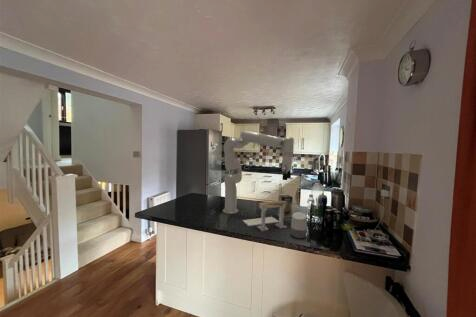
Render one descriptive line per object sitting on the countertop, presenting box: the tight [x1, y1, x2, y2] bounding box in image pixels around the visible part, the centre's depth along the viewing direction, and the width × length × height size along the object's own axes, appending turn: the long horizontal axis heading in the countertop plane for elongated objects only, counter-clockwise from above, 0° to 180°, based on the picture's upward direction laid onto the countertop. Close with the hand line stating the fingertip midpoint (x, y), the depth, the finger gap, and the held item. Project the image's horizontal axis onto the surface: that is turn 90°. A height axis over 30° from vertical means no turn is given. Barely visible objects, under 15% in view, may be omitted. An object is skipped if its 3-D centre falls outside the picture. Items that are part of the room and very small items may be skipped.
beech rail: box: [257, 200, 287, 210], centre depth 137 cm, size 3×20×3 cm, turn 112°
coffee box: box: [277, 194, 294, 219], centre depth 160 cm, size 9×6×16 cm
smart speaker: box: [290, 211, 308, 240], centre depth 125 cm, size 10×9×14 cm
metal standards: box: [256, 204, 288, 232], centre depth 138 cm, size 6×19×16 cm, turn 112°
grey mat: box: [242, 216, 279, 227], centre depth 148 cm, size 10×24×1 cm, turn 112°
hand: (286, 179), depth 146 cm, fingers open, 9 cm apart
